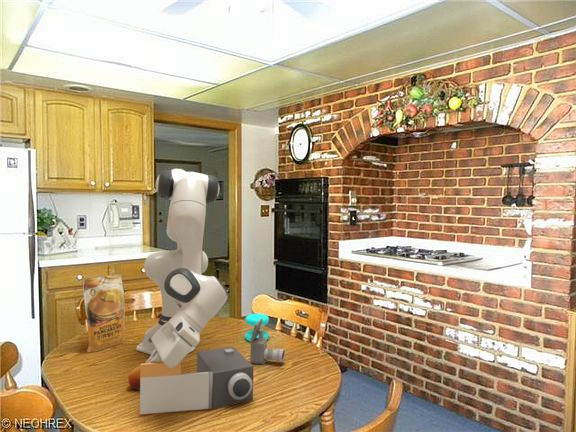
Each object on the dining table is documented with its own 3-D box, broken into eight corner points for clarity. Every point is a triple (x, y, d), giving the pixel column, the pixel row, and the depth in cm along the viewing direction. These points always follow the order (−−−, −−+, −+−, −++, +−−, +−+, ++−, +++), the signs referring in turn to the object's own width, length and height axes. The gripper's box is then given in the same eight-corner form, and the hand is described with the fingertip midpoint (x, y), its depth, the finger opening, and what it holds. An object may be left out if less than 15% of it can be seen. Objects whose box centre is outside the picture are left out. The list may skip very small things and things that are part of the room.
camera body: (196, 382, 128) (197, 349, 128) (232, 375, 133) (232, 343, 133) (215, 413, 110) (216, 374, 109) (256, 403, 115) (256, 366, 115)
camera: (280, 369, 140) (281, 327, 139) (248, 366, 142) (248, 324, 141) (285, 360, 148) (286, 319, 148) (255, 356, 150) (255, 317, 150)
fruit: (143, 392, 118) (135, 365, 120) (129, 399, 122) (120, 373, 124) (165, 382, 125) (156, 357, 127) (150, 389, 128) (142, 365, 130)
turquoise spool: (256, 320, 163) (240, 315, 169) (255, 345, 163) (240, 339, 170) (273, 316, 170) (258, 311, 177) (273, 339, 170) (257, 333, 177)
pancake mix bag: (76, 351, 152) (77, 278, 151) (120, 337, 168) (121, 271, 167) (87, 355, 148) (87, 280, 147) (131, 341, 165) (131, 273, 164)
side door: (139, 414, 107) (140, 365, 107) (140, 412, 108) (141, 363, 108) (212, 408, 111) (212, 360, 111) (212, 406, 112) (212, 359, 112)
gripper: (168, 311, 122) (134, 347, 118) (184, 330, 104) (144, 374, 100) (183, 323, 124) (150, 360, 120) (201, 344, 106) (163, 388, 102)
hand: (147, 366), depth 110 cm, fingers closed
